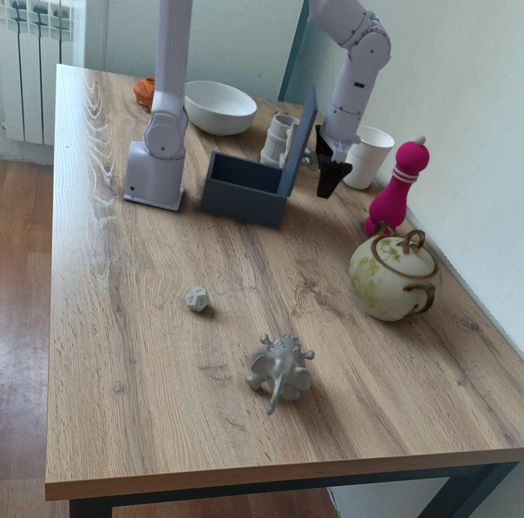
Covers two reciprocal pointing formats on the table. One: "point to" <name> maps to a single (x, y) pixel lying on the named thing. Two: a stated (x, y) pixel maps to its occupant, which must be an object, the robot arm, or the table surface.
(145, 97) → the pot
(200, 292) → the game die
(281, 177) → the compartment
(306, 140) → the lid
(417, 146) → the pepper mill
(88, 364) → the table surface
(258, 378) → the elephant statuette
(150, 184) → the robot arm
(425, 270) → the sugar bowl
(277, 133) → the mug
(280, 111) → the knife
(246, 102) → the cereal bowl
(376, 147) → the cup
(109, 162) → the table surface
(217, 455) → the table surface
